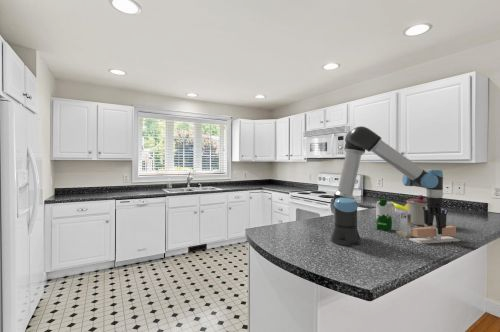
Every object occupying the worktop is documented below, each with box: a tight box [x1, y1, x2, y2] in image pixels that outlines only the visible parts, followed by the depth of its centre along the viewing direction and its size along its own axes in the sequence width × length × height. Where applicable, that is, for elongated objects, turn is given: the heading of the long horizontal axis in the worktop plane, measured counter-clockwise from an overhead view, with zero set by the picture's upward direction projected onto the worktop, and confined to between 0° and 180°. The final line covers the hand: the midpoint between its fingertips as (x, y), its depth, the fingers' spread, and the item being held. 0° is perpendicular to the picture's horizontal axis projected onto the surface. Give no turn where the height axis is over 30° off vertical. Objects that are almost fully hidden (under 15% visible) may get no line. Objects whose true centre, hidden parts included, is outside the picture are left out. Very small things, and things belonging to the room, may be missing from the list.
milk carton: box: [375, 198, 393, 232], centre depth 166 cm, size 9×9×20 cm
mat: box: [408, 235, 461, 245], centre depth 142 cm, size 27×7×1 cm, turn 102°
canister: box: [405, 194, 428, 227], centre depth 182 cm, size 18×18×21 cm
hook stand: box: [395, 213, 437, 238], centre depth 155 cm, size 24×8×13 cm, turn 102°
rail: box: [412, 225, 457, 238], centre depth 142 cm, size 26×3×4 cm, turn 102°
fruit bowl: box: [391, 201, 409, 217], centre depth 213 cm, size 28×27×11 cm
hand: (434, 238), depth 142 cm, fingers open, 4 cm apart
